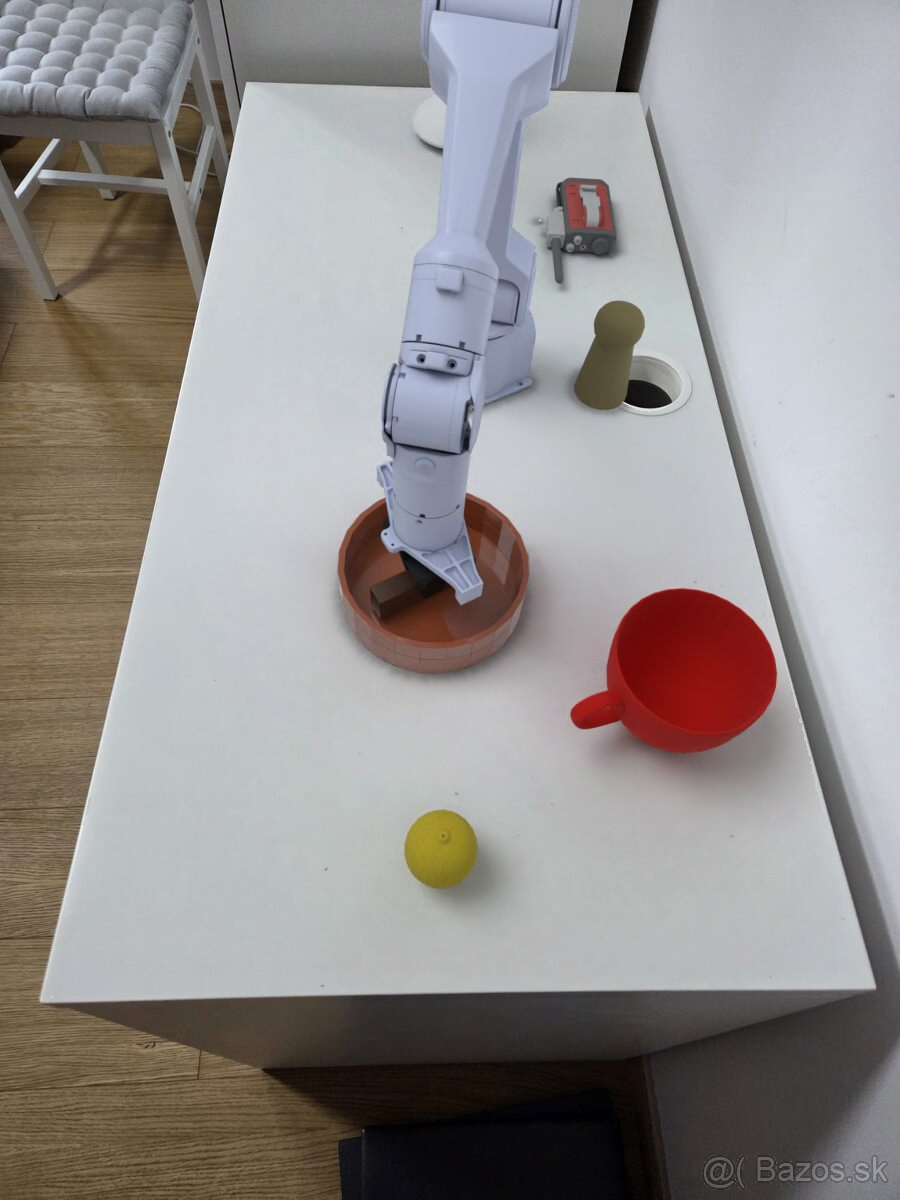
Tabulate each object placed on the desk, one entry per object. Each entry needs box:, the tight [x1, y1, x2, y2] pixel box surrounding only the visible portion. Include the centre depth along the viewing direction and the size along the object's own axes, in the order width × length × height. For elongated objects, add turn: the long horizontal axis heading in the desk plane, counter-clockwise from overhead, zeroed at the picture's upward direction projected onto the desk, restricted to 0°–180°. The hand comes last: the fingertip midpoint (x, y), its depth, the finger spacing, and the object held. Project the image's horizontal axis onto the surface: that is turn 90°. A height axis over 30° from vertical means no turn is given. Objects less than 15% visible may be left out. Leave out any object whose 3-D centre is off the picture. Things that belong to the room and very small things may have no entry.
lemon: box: [403, 809, 479, 889], centre depth 61 cm, size 6×6×8 cm
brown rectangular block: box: [370, 554, 476, 619], centre depth 74 cm, size 10×2×3 cm, turn 120°
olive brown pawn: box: [573, 300, 646, 411], centre depth 87 cm, size 6×6×11 cm
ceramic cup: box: [569, 587, 778, 754], centre depth 67 cm, size 13×17×10 cm
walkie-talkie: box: [545, 177, 617, 285], centre depth 103 cm, size 9×4×20 cm
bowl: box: [337, 492, 531, 674], centre depth 75 cm, size 17×17×5 cm
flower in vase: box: [411, 93, 447, 149], centre depth 105 cm, size 13×11×25 cm
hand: (424, 580), depth 75 cm, fingers closed on brown rectangular block, 2 cm apart
